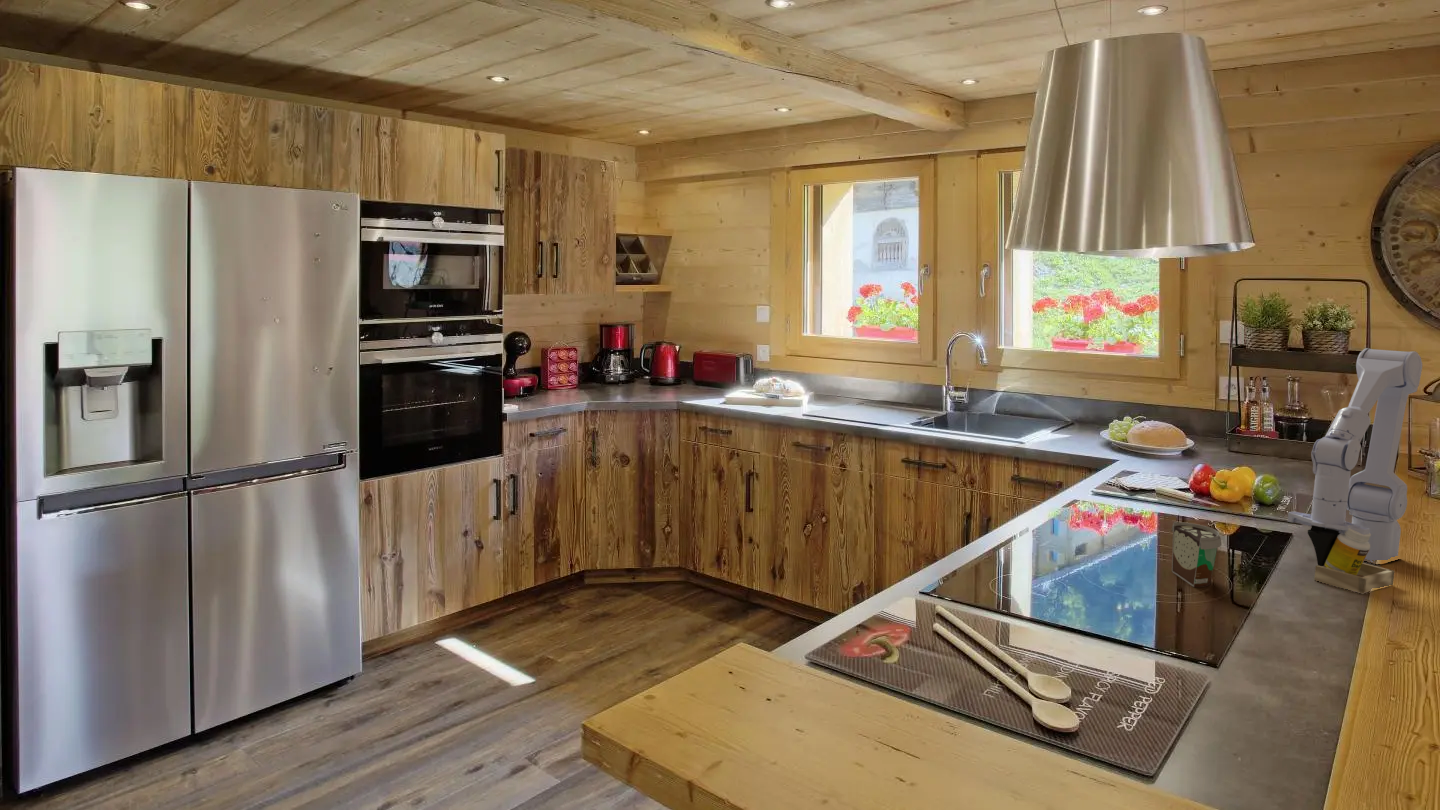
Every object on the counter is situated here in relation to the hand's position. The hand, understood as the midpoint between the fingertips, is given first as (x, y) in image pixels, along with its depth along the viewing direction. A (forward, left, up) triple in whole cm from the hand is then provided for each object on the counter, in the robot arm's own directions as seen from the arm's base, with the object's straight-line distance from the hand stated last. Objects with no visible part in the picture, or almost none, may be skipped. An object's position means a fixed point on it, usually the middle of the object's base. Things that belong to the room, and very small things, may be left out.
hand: (1322, 565), depth 188 cm
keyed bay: (0, +5, -2) cm, 6 cm away
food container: (+25, -10, -2) cm, 27 cm away
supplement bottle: (0, +3, -1) cm, 3 cm away
